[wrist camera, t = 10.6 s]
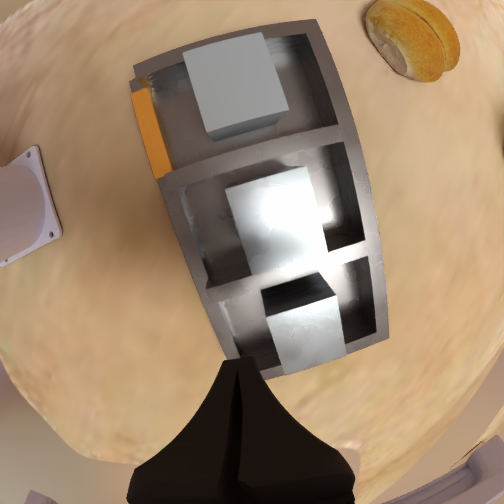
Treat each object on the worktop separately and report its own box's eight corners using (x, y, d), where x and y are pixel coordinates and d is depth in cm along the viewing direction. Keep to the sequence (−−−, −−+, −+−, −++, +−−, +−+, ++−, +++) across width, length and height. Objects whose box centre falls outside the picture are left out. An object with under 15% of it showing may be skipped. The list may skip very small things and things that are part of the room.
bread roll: (458, 61, 16) (484, 53, 13) (408, 96, 18) (437, 88, 14) (405, -8, 14) (426, -24, 10) (344, 17, 15) (363, -6, 12)
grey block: (214, 141, 17) (206, 132, 12) (195, 80, 16) (182, 52, 11) (274, 124, 17) (289, 110, 12) (254, 64, 16) (261, 32, 11)
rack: (231, 356, 23) (231, 407, 17) (137, 89, 16) (102, 63, 11) (368, 313, 22) (401, 352, 17) (301, 42, 16) (324, 4, 10)
